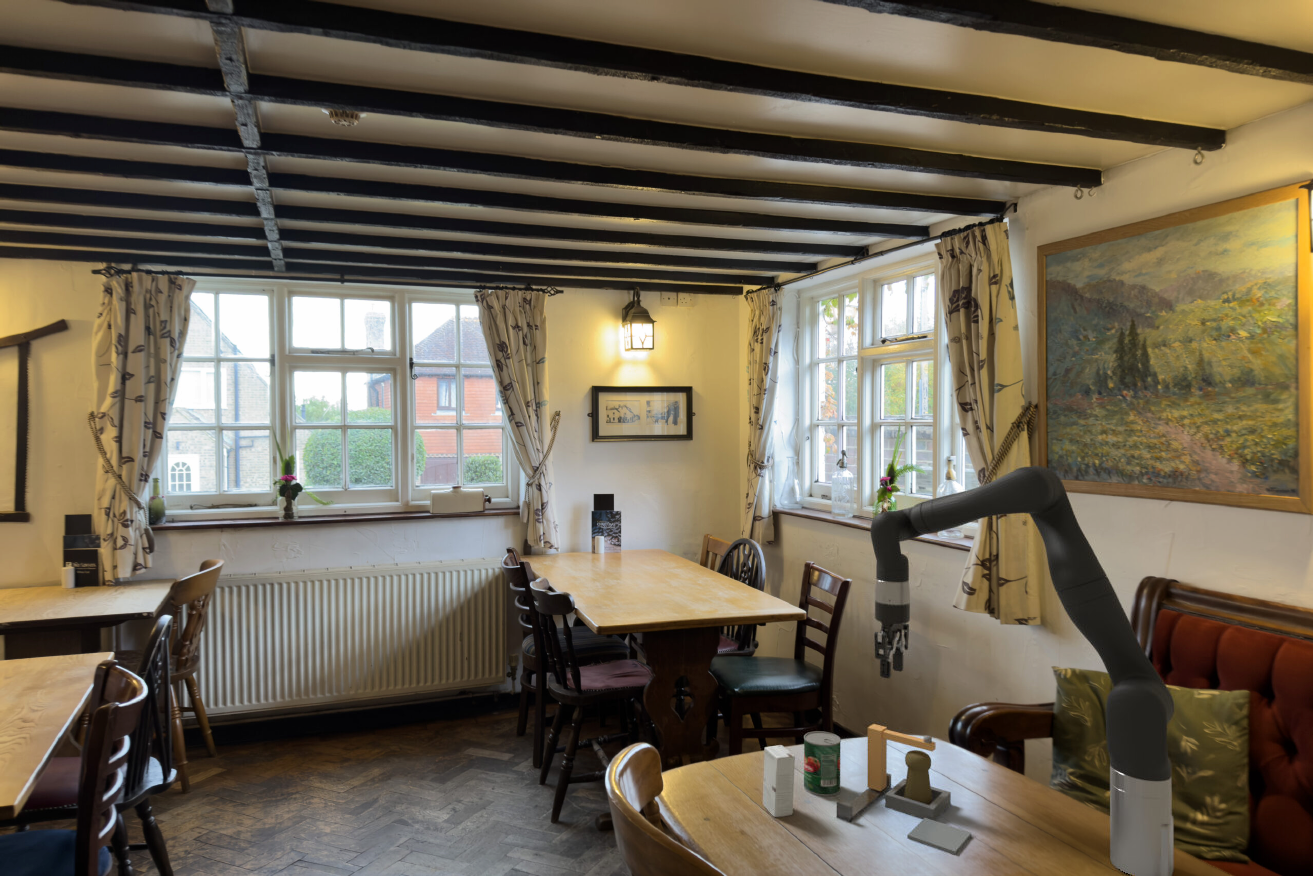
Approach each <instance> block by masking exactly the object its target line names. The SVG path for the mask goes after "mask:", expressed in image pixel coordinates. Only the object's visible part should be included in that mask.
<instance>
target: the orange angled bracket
mask: <svg viewBox="0 0 1313 876" xmlns="http://www.w3.org/2000/svg"><path fill="white" fill-rule="evenodd" d="M887 741H891V742H895V743H899V744H902V745H906V746H910V747H914V748H918V749H921V750H925V751H928V752H931V753H932V752H934V751H936V745H937V744H936V743H937V742H935V741H933V738H932V736H931V735H923V738H921V737H916V736H913V735H909V734H905V733H901V732H897V731H892V730H891V729H890V730H889V729H887V726H883V725H879V724H875V723H873V724H871V725H869V726H868V727H867V788H872V789H875V790H878V791H882V790H883V789H884V788H885V787H887V773H888V772H887V763H888V761H887V755H888V754H887V749H888V748H887V745H888V744H887V743H888V742H887Z"/></svg>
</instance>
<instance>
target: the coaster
mask: <svg viewBox="0 0 1313 876" xmlns="http://www.w3.org/2000/svg"><path fill="white" fill-rule="evenodd" d="M971 837H972V832H970V831H967V830H964V829H961V828H958V827H955V826H952V825H949V824H946V823H943V822H940V821H937V820H935V821H934V820H931V819H928V818H924V819H922V820H920V822H919V823H917V824H916V825H915V827H914V828H913V829H912V830H911V831H910V832H909V833H907V839H909V840H912V841H914V842H917V843H919V844H923V845H926V846H929V847H931V848H935V849H937V850H940V851H943V852H945V853H949V854H951V855H954V856H956V855H957V854H958V853H959V851H960V850H961V849H962V848H963V847H964V845H965V844H966V843H967V841H968V840H969V839H970V838H971Z"/></svg>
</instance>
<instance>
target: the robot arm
mask: <svg viewBox="0 0 1313 876" xmlns="http://www.w3.org/2000/svg"><path fill="white" fill-rule="evenodd" d="M1012 514H1013V515H1014V514H1015V515H1017V514H1029V515H1030V516H1029V517H1030V518H1031V519H1032V521H1033V523H1034V524H1035V526H1036V527H1037V529H1038V531H1039V534H1040V536H1041V538H1042V541H1043V545H1044V547H1045V553H1046V558H1047V559H1046V561H1047V565H1048V570H1049V575H1050V580H1051V583H1052V585H1053V588H1054V590H1055V592H1056V595H1057V596H1058V599H1059V601H1060V603H1061V605H1062V608H1064V611H1065V612H1066V614H1067V616H1068V617H1069V619H1070V620H1071V622H1072V623H1073V624H1074V626H1075V627H1076V629H1078V631H1079V632H1080V633H1081V634H1082V636H1083V637H1084V638H1085V639H1086V640H1087V641H1088V642H1089V643H1090V645H1091V646H1092V647H1093V648H1094V650H1095V651H1096V652H1097V654H1098V655H1099V657H1100V659H1101V661H1102V663H1103V665H1104V667H1105V669H1106V671H1107V674H1108V676H1109V679H1110V681H1111V683H1112V687H1113V688H1112V689H1111V690H1110V692H1109V693H1108V695H1107V699H1106V703H1105V726H1106V728H1105V732H1106V733H1105V735H1106V747H1107V752H1108V754H1109V760H1110V761H1109V777H1110V778H1109V791H1110V793H1109V795H1110V796H1109V797H1110V798H1109V802H1110V803H1109V807H1110V809H1109V811H1110V813H1109V825H1110V826H1109V827H1110V828H1109V829H1110V830H1109V833H1110V834H1109V835H1110V836H1109V838H1110V839H1109V840H1110V841H1109V843H1110V844H1109V852H1110V853H1109V857H1110V859H1109V860H1110V862H1111V864H1112V865H1113V867H1115V868H1116V869H1118V870H1119V869H1120V870H1119V871H1120V872H1122V871H1123V872H1122V873H1124V872H1125V874H1126V873H1128V874H1132V875H1135V876H1173V873H1174V862H1175V861H1174V816H1173V814H1172V762H1171V760H1170V758H1169V756H1168V755H1169V754H1168V724H1169V723H1170V721H1171V720H1172V719H1173V717H1174V713H1175V702H1174V697H1173V696H1172V693H1171V692H1170V689H1168V687H1167V685H1166V684H1165V682H1164V681H1163V679H1162V677H1161V676H1160V674H1159V673H1158V672H1157V670H1156V668H1155V667H1154V665H1153V664H1152V662H1151V660H1150V659H1149V658H1148V656H1147V655H1146V653H1145V651H1144V649H1143V648H1142V647H1143V646H1141V644H1140V642H1139V640H1138V637H1137V635H1136V633H1135V631H1134V629H1133V626H1132V624H1131V622H1130V619H1129V618H1128V616H1127V613H1126V612H1125V610H1124V608H1123V606H1122V604H1121V602H1120V599H1119V597H1118V595H1117V593H1116V590H1115V588H1114V587H1113V585H1112V583H1111V581H1110V579H1109V577H1108V575H1107V573H1106V572H1105V570H1104V569H1103V566H1102V565H1101V563H1100V561H1099V559H1098V558H1097V555H1096V553H1095V551H1094V549H1093V548H1092V545H1091V543H1089V539H1087V537H1086V536H1085V534H1084V532H1083V530H1082V529H1081V526H1080V524H1079V522H1078V520H1077V517H1076V514H1075V511H1074V509H1073V507H1072V505H1071V502H1070V499H1069V497H1068V494H1067V490H1066V489H1065V486H1064V484H1063V482H1062V479H1061V478H1060V477H1059V476H1058V475H1057V473H1056V472H1054V471H1053V470H1052V469H1050V468H1048V467H1045V466H1040V465H1039V466H1038V465H1034V466H1033V465H1032V466H1024V467H1019V468H1017V469H1014V470H1013V471H1010V472H1008V473H1006V474H1005V475H1003V476H1001V477H998V478H996V479H994V480H992V481H990V482H988V483H986V484H983V485H981V486H978V487H975V488H972V489H968V490H965V491H960V492H956V493H951V494H948V495H944V496H939V497H936V498H931V499H929V500H925V501H923V502H919V503H917V504H914V506H911V507H907V508H904V509H899V510H891V511H882V512H879V513H877V514H876V515H875V516H874V517H873V519H872V522H871V525H870V539H871V542H872V543H871V544H872V548H873V553H874V555H875V556H874V557H875V560H876V565H875V566H876V575H875V577H876V578H875V579H876V580H875V581H876V582H875V586H874V587H875V589H874V619H875V620H876V621H877V622H880V624H881V628H880V632H878V631H875V632H874V635H873V636H874V658H875V659H877V660H879V663H880V664H879V669H880V670H879V675H880V677H881V678H884V679H890V678H891V677H892V669H893V671H895V672H899V673H900V672H903V671H904V655H905V654H906V651H908V650H909V636H910V635H909V634H910V625H909V623H910V620H911V619H910V618H911V616H910V615H911V590H910V581H909V580H910V572H909V571H910V568H909V567H910V564H909V558H908V556H907V555H905V554H904V553H902V549H901V543H900V542H904V541H908V540H912V539H915V538H918V537H921V536H924V535H929V534H930V535H931V534H935V533H939V532H943V531H948V530H952V529H955V528H957V527H960V526H964V525H966V524H969V523H972V522H975V521H978V520H980V519H984V518H989V517H995V516H1000V515H1002V516H1003V515H1012ZM1128 874H1127V875H1128Z"/></svg>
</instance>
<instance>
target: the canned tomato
mask: <svg viewBox="0 0 1313 876" xmlns="http://www.w3.org/2000/svg"><path fill="white" fill-rule="evenodd" d="M803 739H804V740H803V741H804V742H803V743H804V744H803V747H804V748H803V789H804V790H805V791H806V792H808V793H809V792H810V793H809V794H812V795H814V794H815V796H819V795H820V797H832V796H836V795H838V794H839V793H840V792H841V741H842V740H841V737H840V736H838V735H837V734H835V733H832V732H828V731H820V730H819V731H818V730H816V731H810V732H807V733H805V734H804V735H803Z"/></svg>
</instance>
